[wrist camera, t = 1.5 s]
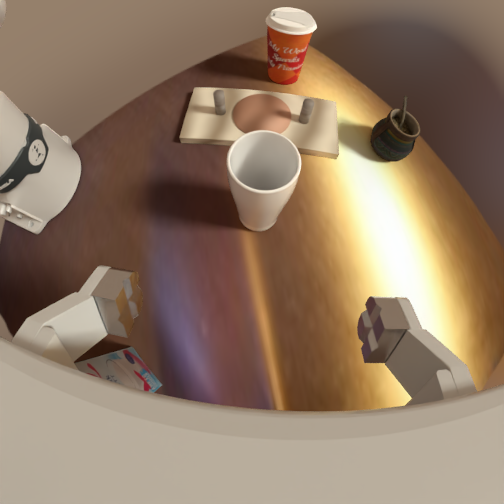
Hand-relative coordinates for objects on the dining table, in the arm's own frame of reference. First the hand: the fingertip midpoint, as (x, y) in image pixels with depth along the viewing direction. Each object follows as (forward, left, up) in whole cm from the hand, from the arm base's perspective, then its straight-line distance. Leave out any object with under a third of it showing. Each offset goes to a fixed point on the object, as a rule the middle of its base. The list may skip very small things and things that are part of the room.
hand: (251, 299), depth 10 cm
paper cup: (+2, +40, -27) cm, 49 cm away
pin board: (-1, +28, -27) cm, 39 cm away
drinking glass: (0, +12, -27) cm, 30 cm away
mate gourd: (+20, +27, -27) cm, 44 cm away
